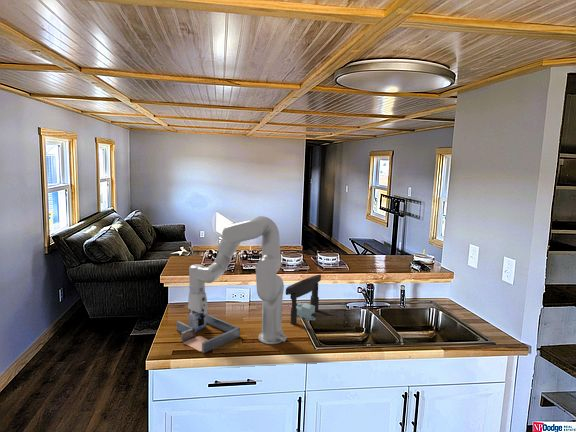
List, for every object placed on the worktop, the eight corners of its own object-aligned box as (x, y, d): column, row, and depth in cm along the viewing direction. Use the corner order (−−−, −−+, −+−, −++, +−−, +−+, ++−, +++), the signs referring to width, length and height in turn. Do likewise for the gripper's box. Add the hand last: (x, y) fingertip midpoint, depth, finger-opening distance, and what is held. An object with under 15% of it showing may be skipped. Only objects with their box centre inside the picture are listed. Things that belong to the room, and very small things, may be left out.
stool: (274, 283, 211) (309, 270, 237) (273, 321, 214) (308, 304, 240) (298, 290, 202) (332, 275, 228) (297, 330, 205) (330, 311, 231)
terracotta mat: (216, 344, 188) (216, 343, 188) (200, 352, 180) (200, 351, 180) (199, 336, 195) (199, 335, 195) (183, 343, 188) (183, 342, 188)
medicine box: (195, 332, 199) (195, 315, 198) (188, 330, 202) (188, 313, 200) (206, 326, 206) (206, 310, 205) (199, 324, 208) (199, 308, 207)
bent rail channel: (239, 336, 196) (239, 327, 196) (203, 353, 179) (203, 343, 179) (202, 320, 214) (202, 312, 213) (166, 333, 197) (166, 325, 196)
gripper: (214, 291, 198) (214, 326, 201) (192, 283, 209) (193, 316, 212) (202, 295, 192) (202, 331, 195) (180, 287, 203) (181, 321, 206)
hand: (197, 323), depth 203 cm, fingers closed on medicine box, 4 cm apart
